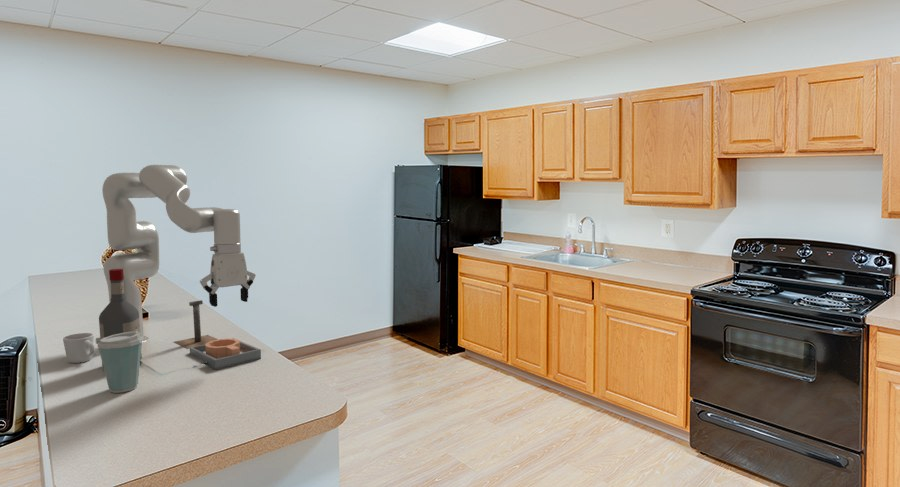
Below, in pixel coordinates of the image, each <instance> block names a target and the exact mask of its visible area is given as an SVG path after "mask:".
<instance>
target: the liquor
mask: <svg viewBox="0 0 900 487" xmlns="http://www.w3.org/2000/svg"><path fill="white" fill-rule="evenodd" d="M109 277H110V282H111V299H110V301H111V302H109V303H108V304H107V305H106V306H105V307H104V309H103V310H102V311H101V312H100V314H99V315H98V316H99V317H98V326H99V337H100V340H101V339H103V338H105V337H108V336H111V335H115V334H120V333H126V332H139V333H140V323H139V312H138V310H137V309H136V308H135V307H134V306H133V305H131V304H130V303H129V302H128V301H127V300H126V297H125V294H124V282H123V279H124V274H123V269H111V270H109ZM142 359H143V358H142V353H141V357H140V363H141V362H142ZM101 366H102V368H103V369H104V367H103V363H102V362H101Z"/></svg>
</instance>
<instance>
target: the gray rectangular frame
mask: <svg viewBox="0 0 900 487" xmlns="http://www.w3.org/2000/svg"><path fill="white" fill-rule="evenodd" d="M231 339H235V338H231ZM239 342H240V349H242V350H245V352H240V354H236V355H232V356H228V357H223V358H214V357H211V356H209V355H207V354H206V350H205V345H206V344H205V345H200V346H195V347H191V348H190V349H189V354H190V355H192V356H194V357H196V358H198V359H201V360H203V361H204V362H203V363H202V364H204V365H206V366H207V367H209V368H211V369H213V370H215V371H217V370H220V369H224V368H228V367H233V366H237V365H239V364H240V365H241V364H245V363H249V362H252V361H256V360H260V359H261V358H262V356H261V355H262V353H261V352H262V350H261V349H260V348H258V347H256V346H253V345H250V344H248V343H245V342H243V341H240V340H239Z"/></svg>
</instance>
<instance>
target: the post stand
mask: <svg viewBox="0 0 900 487" xmlns="http://www.w3.org/2000/svg"><path fill="white" fill-rule="evenodd" d="M188 304H189V305H188V306H190V307H192V312H193V313H192V314H193V329H194V337H191V338H186V339H185V338H184V339H182V340H181V339H180V340H176V341H173V343H174V344H177V345H179V346H180V347H182V348H184V349H187V350H190V348H191V347H195V346H200V345H205V344H206V343H208V342H210V341H213V340H218V339H219V338H216V337H214V336H212V335H209V334H205V335H202V332H201V330H202V329H201V313H200V311H201V310H200V308H201V307H200V305H201V306H202V305H203V304H204V303H203V300H201V299H200V300H196V301H195V300H194V301H189V303H188Z"/></svg>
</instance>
